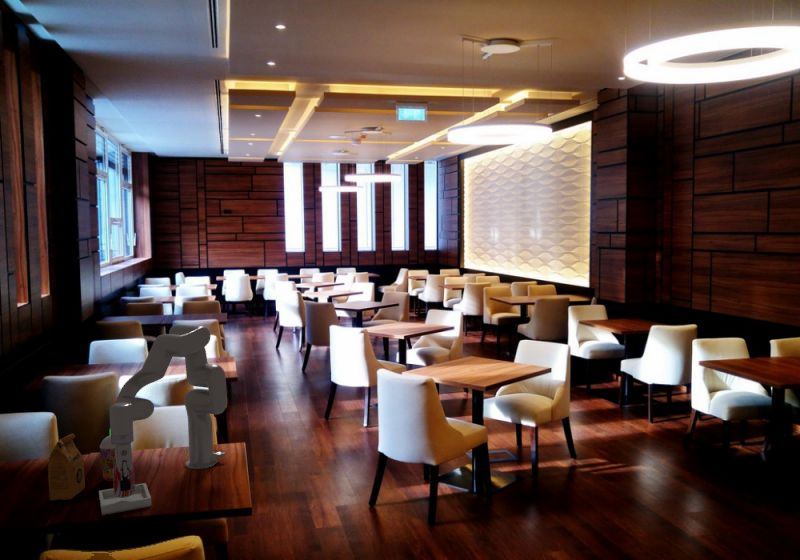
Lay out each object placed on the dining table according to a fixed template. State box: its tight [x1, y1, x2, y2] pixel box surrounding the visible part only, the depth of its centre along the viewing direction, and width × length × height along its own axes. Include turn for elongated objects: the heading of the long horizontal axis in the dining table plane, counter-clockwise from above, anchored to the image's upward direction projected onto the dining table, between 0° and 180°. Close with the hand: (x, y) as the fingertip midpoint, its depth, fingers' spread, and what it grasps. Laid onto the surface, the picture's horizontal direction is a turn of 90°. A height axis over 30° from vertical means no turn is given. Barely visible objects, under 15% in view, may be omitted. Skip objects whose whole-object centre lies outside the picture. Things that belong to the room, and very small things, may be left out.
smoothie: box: [99, 432, 116, 482], centre depth 268 cm, size 8×8×20 cm
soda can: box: [112, 462, 136, 498], centre depth 245 cm, size 7×7×12 cm
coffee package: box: [47, 433, 86, 502], centre depth 252 cm, size 10×12×22 cm
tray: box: [98, 482, 152, 516], centre depth 245 cm, size 16×16×3 cm
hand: (124, 486), depth 245 cm, fingers closed on soda can, 7 cm apart
